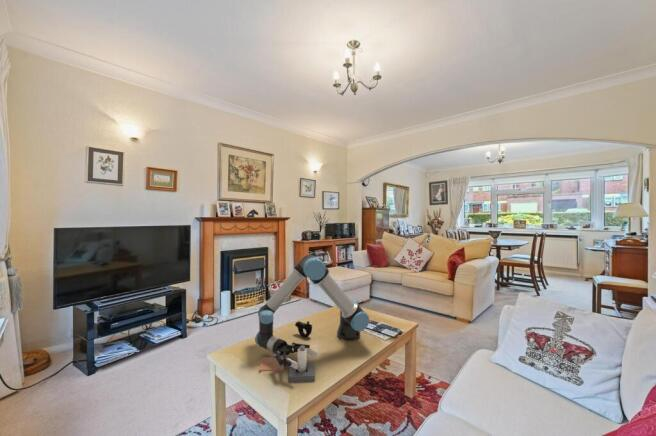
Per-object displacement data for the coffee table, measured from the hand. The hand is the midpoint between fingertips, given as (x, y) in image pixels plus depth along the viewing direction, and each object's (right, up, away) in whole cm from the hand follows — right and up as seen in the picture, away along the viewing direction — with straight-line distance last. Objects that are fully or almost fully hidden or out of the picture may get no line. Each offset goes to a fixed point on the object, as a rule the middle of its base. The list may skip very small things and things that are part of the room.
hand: (307, 360), depth 132 cm
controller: (-6, -8, +45) cm, 46 cm away
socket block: (-3, -8, +2) cm, 9 cm away
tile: (-19, -8, +10) cm, 23 cm away
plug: (-3, -8, +2) cm, 9 cm away
